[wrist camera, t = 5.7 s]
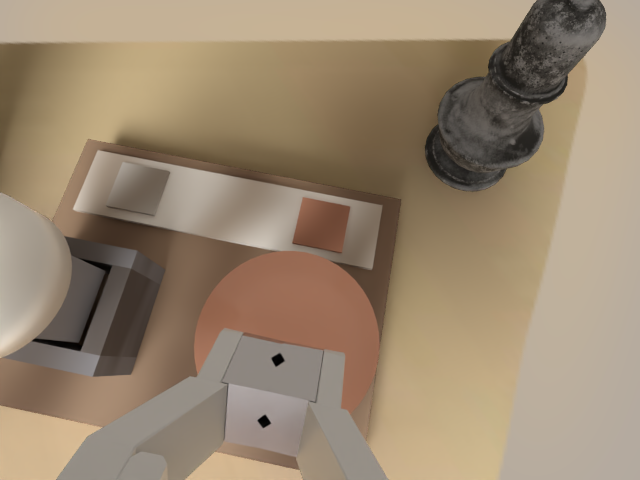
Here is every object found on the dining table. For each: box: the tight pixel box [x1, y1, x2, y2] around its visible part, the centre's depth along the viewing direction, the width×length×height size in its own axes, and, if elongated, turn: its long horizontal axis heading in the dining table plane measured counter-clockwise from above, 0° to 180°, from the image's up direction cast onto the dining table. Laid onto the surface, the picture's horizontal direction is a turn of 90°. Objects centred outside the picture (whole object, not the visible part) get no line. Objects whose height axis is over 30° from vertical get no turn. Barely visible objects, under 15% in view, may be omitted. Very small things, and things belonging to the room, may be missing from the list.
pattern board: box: [0, 139, 401, 470], centre depth 19 cm, size 18×14×6 cm
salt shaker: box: [425, 0, 606, 191], centre depth 19 cm, size 6×6×12 cm
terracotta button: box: [194, 251, 380, 414], centre depth 14 cm, size 5×5×5 cm
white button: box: [0, 192, 106, 358], centre depth 14 cm, size 5×5×5 cm
